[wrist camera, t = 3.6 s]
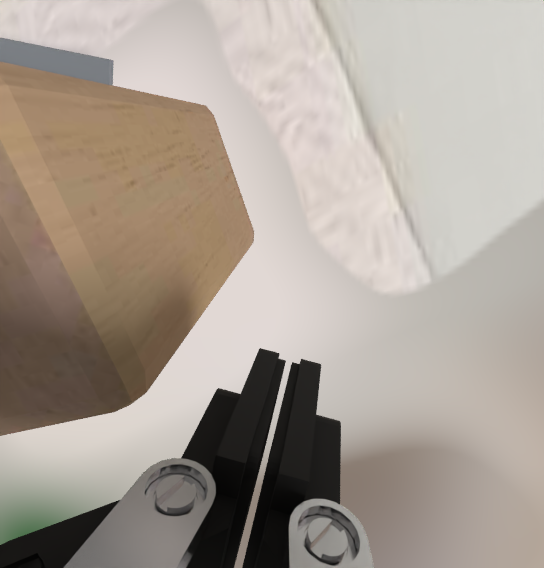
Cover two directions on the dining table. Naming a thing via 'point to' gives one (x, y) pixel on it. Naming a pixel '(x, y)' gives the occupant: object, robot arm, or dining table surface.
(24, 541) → the robot arm
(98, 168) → the block
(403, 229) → the dining table surface
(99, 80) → the mat
